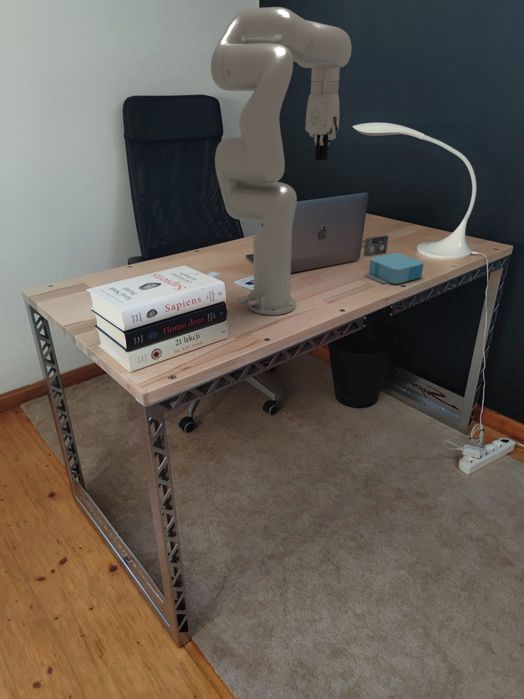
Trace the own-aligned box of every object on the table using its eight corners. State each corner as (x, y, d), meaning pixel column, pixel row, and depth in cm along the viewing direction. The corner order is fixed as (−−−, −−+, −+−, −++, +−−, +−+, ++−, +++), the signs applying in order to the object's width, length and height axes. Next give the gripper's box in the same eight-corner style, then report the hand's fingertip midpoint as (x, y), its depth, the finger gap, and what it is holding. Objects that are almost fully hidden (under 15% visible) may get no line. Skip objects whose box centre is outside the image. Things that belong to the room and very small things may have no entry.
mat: (383, 284, 148) (383, 283, 147) (364, 276, 154) (364, 275, 153) (419, 274, 155) (419, 273, 154) (400, 267, 161) (400, 266, 160)
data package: (366, 272, 155) (394, 284, 146) (367, 258, 153) (396, 269, 144) (395, 265, 161) (423, 277, 152) (396, 252, 159) (426, 262, 150)
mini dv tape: (383, 252, 175) (385, 234, 172) (386, 253, 174) (388, 236, 171) (363, 255, 172) (365, 237, 169) (366, 256, 171) (368, 239, 168)
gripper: (297, 88, 143) (295, 157, 151) (331, 89, 132) (327, 164, 140) (318, 88, 146) (315, 155, 155) (353, 89, 135) (347, 161, 144)
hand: (321, 159), depth 148 cm, fingers closed
